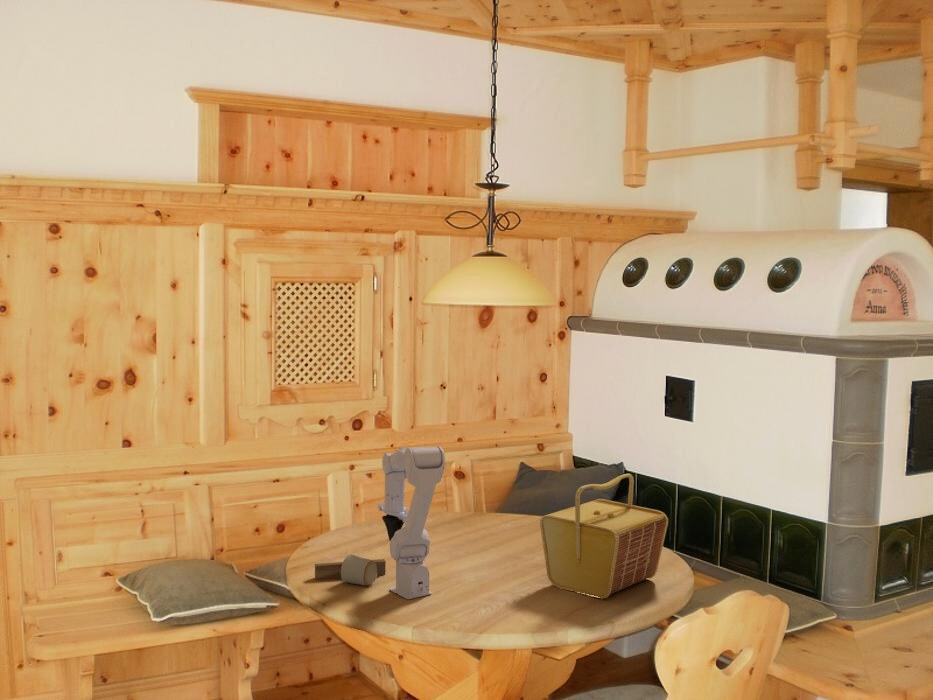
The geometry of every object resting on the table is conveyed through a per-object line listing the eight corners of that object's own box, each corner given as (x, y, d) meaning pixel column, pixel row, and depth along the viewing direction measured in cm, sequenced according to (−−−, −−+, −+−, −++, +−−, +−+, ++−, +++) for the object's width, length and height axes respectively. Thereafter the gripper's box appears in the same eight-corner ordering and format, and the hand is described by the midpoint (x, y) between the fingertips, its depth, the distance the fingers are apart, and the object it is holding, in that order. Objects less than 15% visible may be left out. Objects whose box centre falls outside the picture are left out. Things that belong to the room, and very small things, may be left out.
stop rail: (385, 574, 288) (385, 561, 288) (315, 579, 283) (315, 565, 282) (383, 572, 290) (384, 559, 290) (314, 577, 285) (314, 563, 284)
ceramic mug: (365, 589, 275) (366, 562, 275) (339, 585, 279) (340, 558, 278) (384, 579, 285) (384, 552, 284) (359, 575, 288) (359, 548, 288)
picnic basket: (592, 562, 304) (596, 465, 302) (668, 581, 288) (672, 479, 285) (535, 585, 282) (538, 480, 280) (613, 607, 266) (617, 496, 263)
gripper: (420, 498, 281) (419, 545, 283) (393, 486, 293) (392, 531, 295) (398, 501, 277) (397, 549, 279) (372, 489, 289) (371, 535, 291)
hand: (393, 540), depth 286 cm, fingers closed
